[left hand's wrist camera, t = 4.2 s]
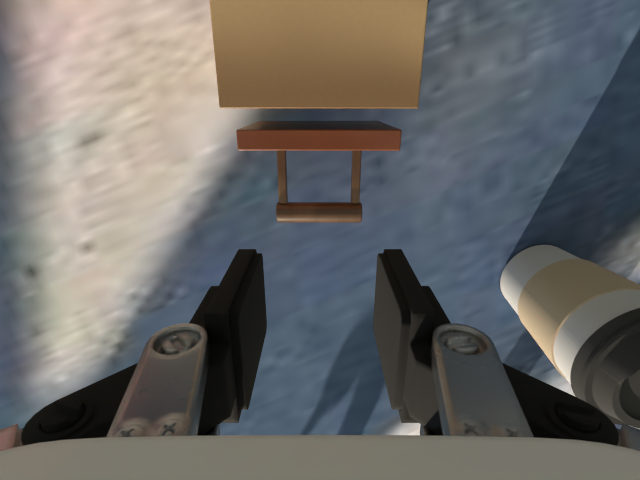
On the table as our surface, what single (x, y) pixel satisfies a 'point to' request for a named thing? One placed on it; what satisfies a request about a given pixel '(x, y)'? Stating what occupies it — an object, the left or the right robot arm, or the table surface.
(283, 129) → the drawer
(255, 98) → the cabinet
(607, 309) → the coffee cup
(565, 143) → the table surface
